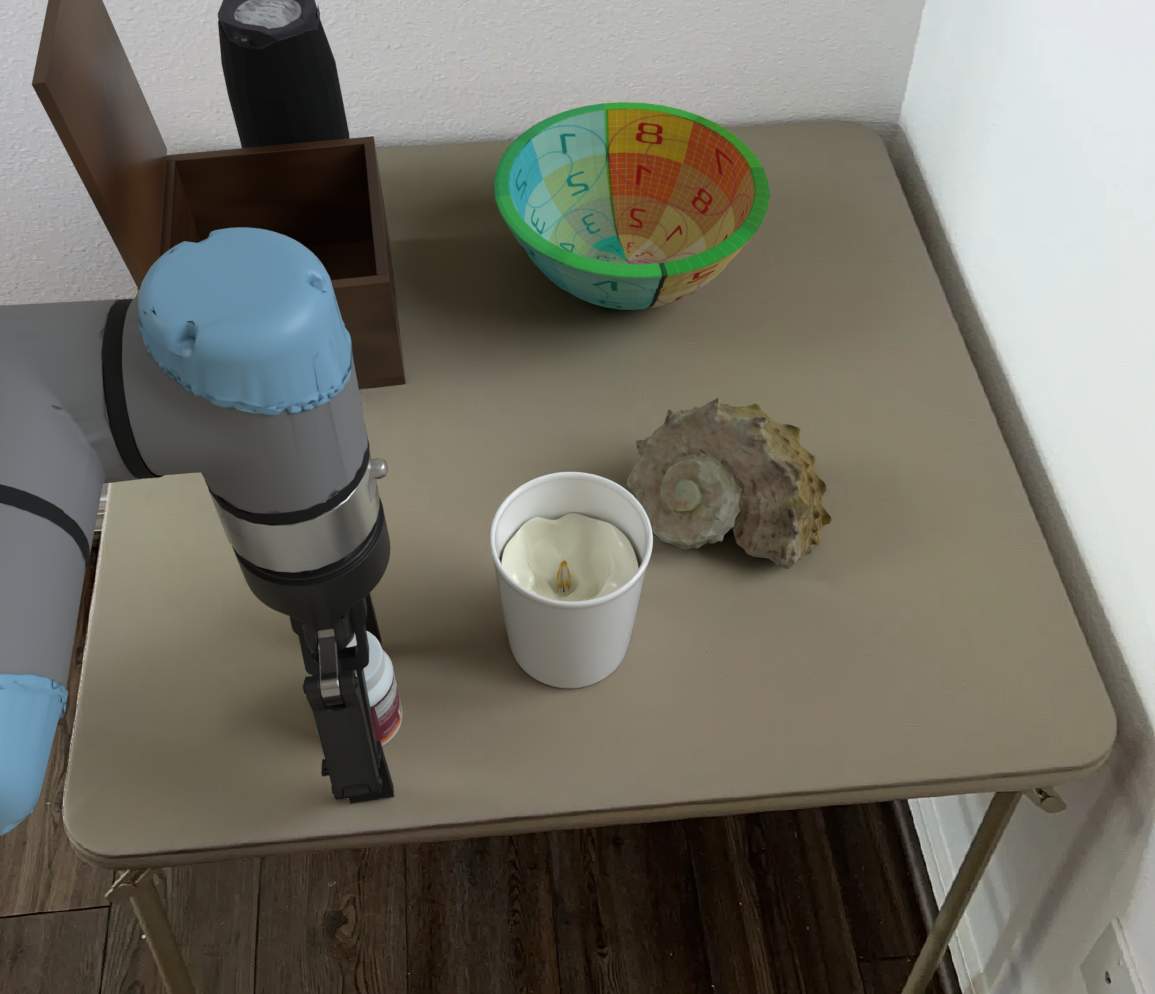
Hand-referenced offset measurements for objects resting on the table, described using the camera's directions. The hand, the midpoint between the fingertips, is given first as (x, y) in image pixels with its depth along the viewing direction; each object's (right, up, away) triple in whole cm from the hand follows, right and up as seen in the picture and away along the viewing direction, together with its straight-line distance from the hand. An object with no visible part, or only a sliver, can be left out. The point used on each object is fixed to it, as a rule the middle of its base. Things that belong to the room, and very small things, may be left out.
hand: (366, 717), depth 73 cm
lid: (-18, +40, +5) cm, 45 cm away
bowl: (+18, +34, +26) cm, 46 cm away
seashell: (+24, +13, +11) cm, 30 cm away
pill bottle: (0, 0, 0) cm, 0 cm away
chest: (-10, +29, +22) cm, 38 cm away
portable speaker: (-11, +41, +31) cm, 53 cm away
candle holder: (+13, +5, +4) cm, 15 cm away
